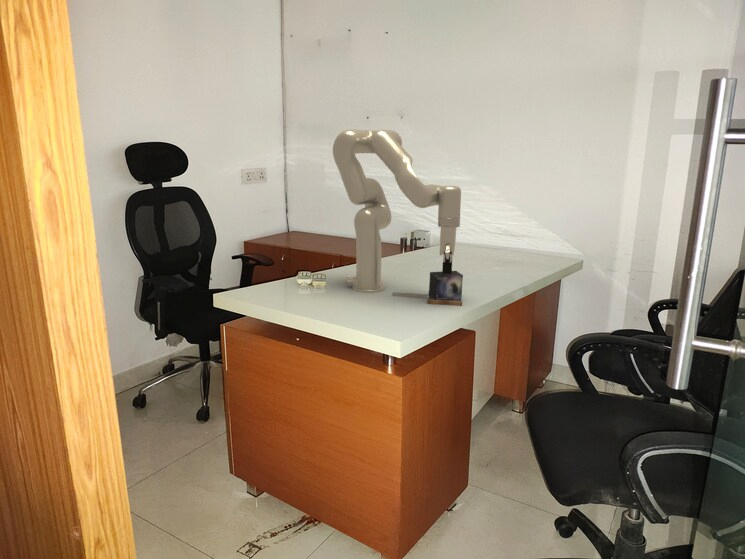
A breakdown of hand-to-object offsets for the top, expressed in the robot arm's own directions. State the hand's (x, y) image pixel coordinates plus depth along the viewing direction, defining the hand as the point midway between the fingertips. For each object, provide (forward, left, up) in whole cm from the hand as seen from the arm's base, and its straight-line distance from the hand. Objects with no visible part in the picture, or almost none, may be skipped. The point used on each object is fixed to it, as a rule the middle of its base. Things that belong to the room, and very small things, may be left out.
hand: (447, 270), depth 184 cm
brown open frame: (0, 0, -12) cm, 12 cm away
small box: (0, 0, -12) cm, 12 cm away
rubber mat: (-13, 0, -12) cm, 18 cm away
